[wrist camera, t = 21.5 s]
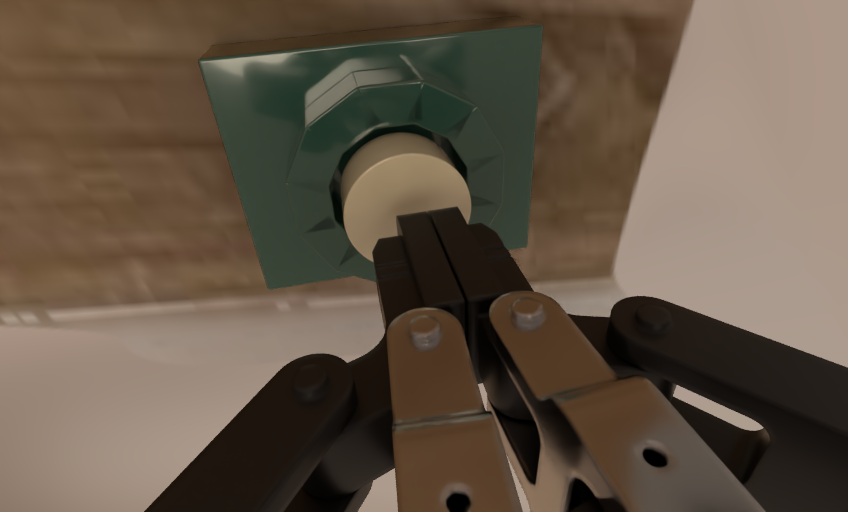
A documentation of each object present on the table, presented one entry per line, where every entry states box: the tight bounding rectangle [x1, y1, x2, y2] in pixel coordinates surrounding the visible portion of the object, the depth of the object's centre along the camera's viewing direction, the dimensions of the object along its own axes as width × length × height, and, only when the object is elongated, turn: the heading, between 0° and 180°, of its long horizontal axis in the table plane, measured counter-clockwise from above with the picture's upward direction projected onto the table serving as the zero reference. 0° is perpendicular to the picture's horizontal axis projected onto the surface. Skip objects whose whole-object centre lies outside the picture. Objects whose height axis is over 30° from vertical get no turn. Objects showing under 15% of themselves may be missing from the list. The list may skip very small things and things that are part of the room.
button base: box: [198, 16, 543, 290], centre depth 16 cm, size 10×8×4 cm
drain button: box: [340, 132, 471, 262], centre depth 14 cm, size 4×4×2 cm
